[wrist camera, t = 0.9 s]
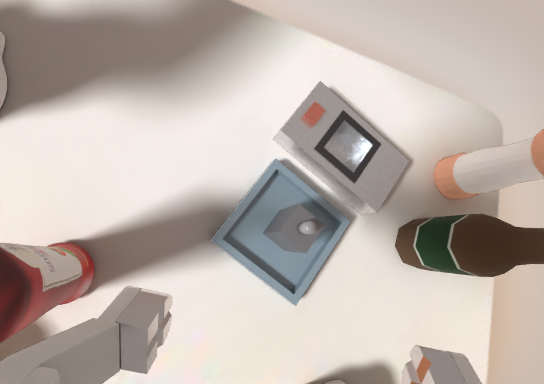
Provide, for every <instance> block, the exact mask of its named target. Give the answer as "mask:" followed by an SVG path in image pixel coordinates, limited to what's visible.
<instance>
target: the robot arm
mask: <svg viewBox="0 0 544 384" xmlns="http://www.w3.org/2000/svg"><path fill="white" fill-rule="evenodd" d="M4 47H5V36H4V34H3V33H2V32H1V31H0V108H1V106H2V104H3V102H4V100H5V96H6V92H7V76H6V71H5V68H4V65H3V60H2V55H3V51H4ZM171 306H172V296H171V295H169V294H164V293H160V292H156V291H151V290H147V289H141V288H137V287H133V286H127V287H125V288H124V289H123V290H122V291H121V293H120V294H119V295H118V296H117V297H116V298H115V299H114V301H113V302H112V303H111V304H110V305H109V306H108V308H107V309H106V310H105V311H104V312H103V313H102V314H101V316H100V317H99V318H98V319H95V318H92V319H90V320H88V321H86V322H83V323H81V324H79V325H77V326H74V327H72V328H70V329H68V330H65V331H63V332H61V333H59V334H56V335H54V336H52V337H50V338H47V339H45V340H43V341H41V342H38V343H36V344H34V345H32V346H29V347H27V348H25V349H23V350H20V351H18V352H16V353H14V354H11V355H9V356H7V357H6V358H4V359H3V360H2V361H1V362H0V384H102V383H104V382H105V381H106V380H108V379H109V378H110V377H112V376H113V375H115V374H116V373H117V372H119V371H120V369H122V370H128V371H133V372H139V373H144V374H147V373H148V371H149V369H150V367H151V365H152V364H153V362H154V360H155V358H156V356H157V348H158V347H160V346H161V345H163V343H164V341H165V339H166V337H167V334H168V332H169V329H170V324H171V316H172V315H171V314H170V312H169V309H170V308H171ZM410 356H411V359H412V360H411V361H410V362H408V363H406V364H405V366H404V369H403V372H402V384H482V383H481V381H480V380H479V378H478V376H477V374H476V373H475V371H474V369H473V367H472V366H471V364H470V362H469V360H468V359H467V357H466V356H465V355H463V354H460V353H454V352H449V351H442V350H437V349H432V348H427V347H422V346H417V345H415V346H414V347H413V348H412V350H411V352H410Z"/></svg>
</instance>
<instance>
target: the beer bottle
mask: <svg viewBox="0 0 544 384" xmlns="http://www.w3.org/2000/svg"><path fill="white" fill-rule="evenodd" d="M395 247H396V249H397V251H398V253H399V255H400V257H401V259H402V261H403V263H406V264H408V265H411V266H414V267H416V268H419V269H424V270H430V271H438V272H447V273H455V274H463V275H471V276H480V277H494V276H498V275H501V274H504V273H506V272H508V271H509V270H511V269H512V268H513V267H515V266H516V265H525V264H544V228H521V227H514V226H513V225H511V224H508V223H506V222H504V221H502V220H500V219H497V218H495V217H491V216H488V215H484V214H468V215H457V216H446V217H435V218H424V219H417V220H413V221H411V222H409V223H407V224H406V225H404V226H402V227H401V228H399V230H398V235H397V239H396V243H395Z"/></svg>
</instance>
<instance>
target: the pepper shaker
mask: <svg viewBox="0 0 544 384" xmlns="http://www.w3.org/2000/svg"><path fill="white" fill-rule="evenodd" d="M543 178H544V129H543V130H541V131H540V132H539V133H538V134H537V135H536V136H535V137H534V138H531V139H527V140H524V141H521V142H517V143H513V144H510V145H504V146H497V147H490V148H483V149H479V150H476V151H473V152H471V153H460V154H457V155H453V156H450V157H447V158H444V159H442V160H441V161H439V162H438V164H437V165H436V167H435V171H434V180H435V183H436V186H437V188H438V189H439V191H440V192H441V193H442V194H443V195H444V196H446V197H448V198H450V199H460V198H466V197H472V196H476V195H478V194H479V193H484V192H491V191H496V190H499V189H501V188H505V187H508V186H511V185H514V184H517V183H521V182H527V181H532V180H537V179H543Z"/></svg>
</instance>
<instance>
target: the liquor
mask: <svg viewBox="0 0 544 384" xmlns="http://www.w3.org/2000/svg"><path fill="white" fill-rule="evenodd" d="M93 277H94V263H93V260H92V258H91V256H90V255H89V253H88V252H87V251H86V250H84V249H83V248H81V247H80V246H78V245H75V244H71V243H56V244H52V245H49V246H47V247H43V246H29V245H20V244H11V243H0V343H2V342H3V341H5V340H6V339H8V338H9V337H11V336H12V335H14V334H16V333H17V332H19V331H20V330H22V329H24V328H25V327H27V326H28V325H30V324H31V323H32V322H34V321H35V320H37V319H38V318H39V317H41V316H42V315H44V314H45V313H46V312H48V311H49V310H51V309H53V308H54V307H56V306H57V305H62V304H66V303H69V302H72V301H74V300H76V299H77V298H79V297H80V296H82V295H83V294H84V293H85V292H86V291H87V289H88V288H89V287H90V285H91V283H92V280H93Z"/></svg>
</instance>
